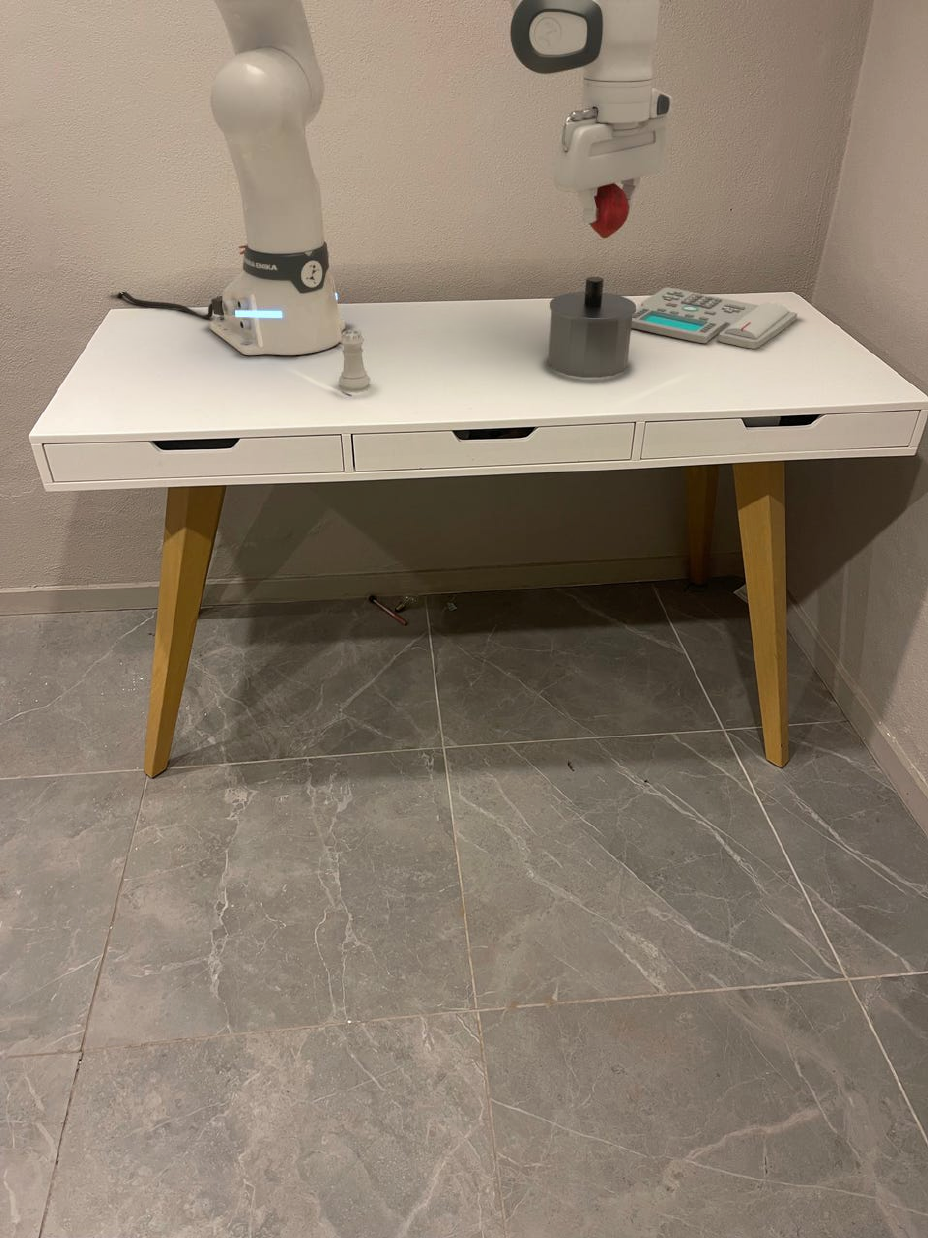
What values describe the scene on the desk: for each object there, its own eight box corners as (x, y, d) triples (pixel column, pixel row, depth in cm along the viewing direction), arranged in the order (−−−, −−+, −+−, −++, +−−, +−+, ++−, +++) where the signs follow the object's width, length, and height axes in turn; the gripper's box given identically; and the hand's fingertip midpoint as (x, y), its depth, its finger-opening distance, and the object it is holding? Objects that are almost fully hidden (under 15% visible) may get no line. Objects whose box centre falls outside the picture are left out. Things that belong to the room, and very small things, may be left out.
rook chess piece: (358, 399, 130) (354, 340, 125) (332, 392, 132) (327, 334, 127) (378, 388, 133) (375, 331, 128) (352, 381, 135) (348, 325, 130)
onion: (633, 241, 133) (639, 178, 128) (595, 245, 131) (600, 181, 126) (614, 231, 137) (619, 170, 132) (577, 234, 135) (581, 173, 131)
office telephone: (800, 304, 156) (757, 338, 143) (796, 320, 158) (754, 356, 144) (667, 278, 167) (615, 308, 153) (665, 294, 168) (613, 325, 154)
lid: (538, 302, 139) (539, 269, 136) (616, 296, 141) (619, 264, 139) (565, 329, 129) (568, 294, 127) (649, 322, 132) (652, 288, 129)
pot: (532, 366, 140) (535, 307, 135) (582, 347, 146) (586, 290, 142) (592, 387, 134) (597, 326, 129) (641, 367, 140) (648, 308, 135)
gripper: (584, 115, 117) (577, 234, 125) (681, 97, 128) (668, 208, 136) (544, 109, 120) (540, 226, 128) (642, 93, 132) (632, 201, 140)
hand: (607, 216), depth 132 cm, fingers closed on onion, 6 cm apart
